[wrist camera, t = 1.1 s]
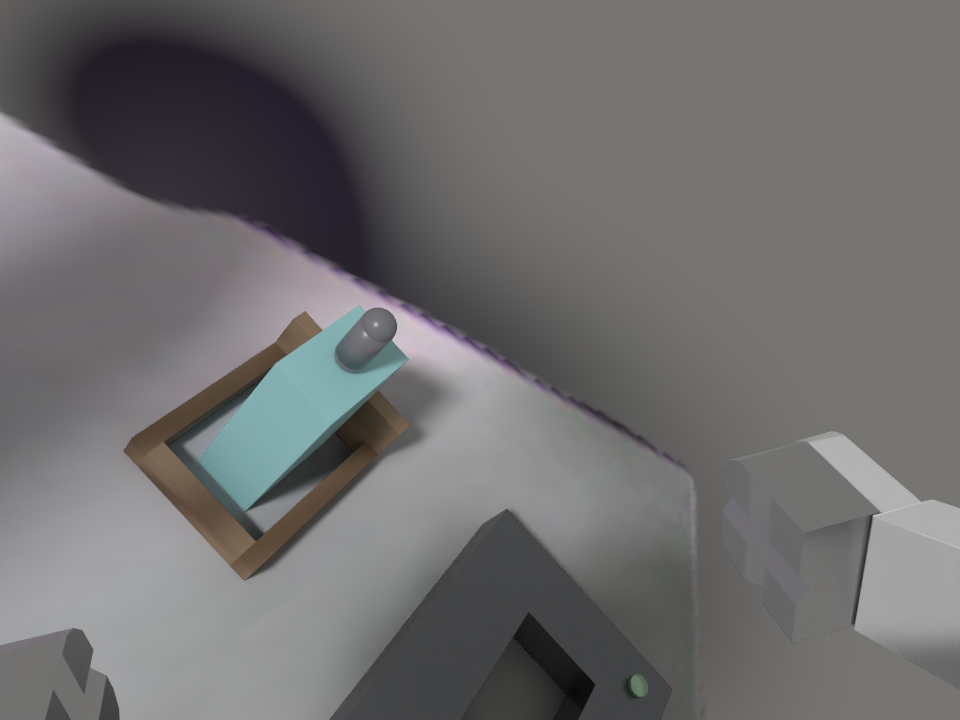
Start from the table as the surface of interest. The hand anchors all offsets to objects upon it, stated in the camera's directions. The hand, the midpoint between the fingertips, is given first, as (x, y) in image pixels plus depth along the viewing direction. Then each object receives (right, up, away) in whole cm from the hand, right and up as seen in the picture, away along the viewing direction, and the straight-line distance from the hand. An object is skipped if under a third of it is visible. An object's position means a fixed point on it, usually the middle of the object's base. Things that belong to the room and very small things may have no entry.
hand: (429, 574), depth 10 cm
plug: (-11, -2, +33) cm, 35 cm away
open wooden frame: (-11, -2, +33) cm, 35 cm away
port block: (+2, -16, +34) cm, 37 cm away
